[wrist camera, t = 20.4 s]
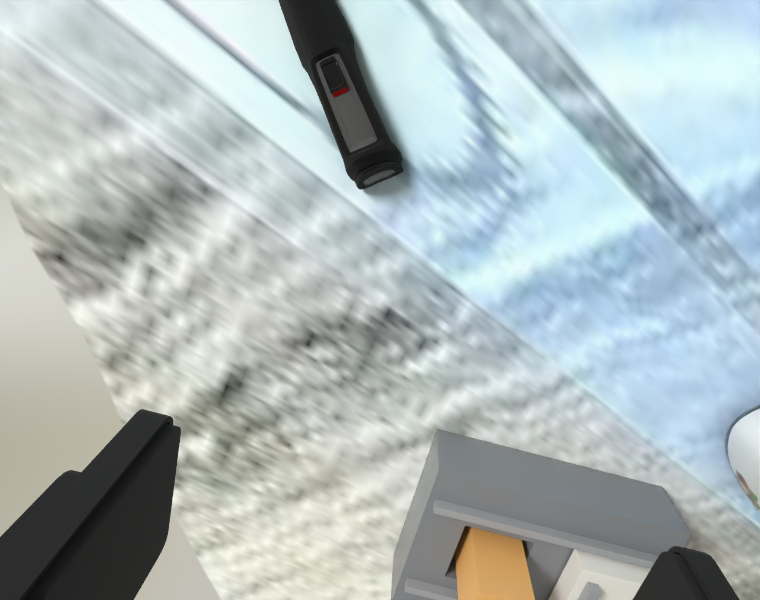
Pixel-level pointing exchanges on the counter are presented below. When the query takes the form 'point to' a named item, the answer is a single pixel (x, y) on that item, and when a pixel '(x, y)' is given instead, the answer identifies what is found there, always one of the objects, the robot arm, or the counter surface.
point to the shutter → (598, 578)
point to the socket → (525, 515)
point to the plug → (491, 567)
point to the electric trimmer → (342, 89)
